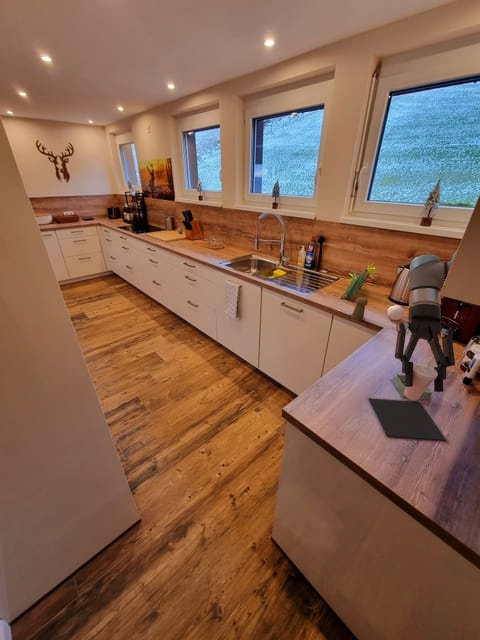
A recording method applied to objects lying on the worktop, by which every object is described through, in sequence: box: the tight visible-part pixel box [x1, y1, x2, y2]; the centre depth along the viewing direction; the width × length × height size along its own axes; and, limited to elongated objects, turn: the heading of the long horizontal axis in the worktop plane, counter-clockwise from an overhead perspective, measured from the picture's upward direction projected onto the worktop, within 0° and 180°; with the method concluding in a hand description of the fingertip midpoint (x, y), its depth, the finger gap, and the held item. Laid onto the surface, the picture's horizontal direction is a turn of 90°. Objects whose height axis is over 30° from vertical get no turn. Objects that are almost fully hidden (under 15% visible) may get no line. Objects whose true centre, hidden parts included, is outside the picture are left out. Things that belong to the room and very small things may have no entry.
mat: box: [368, 398, 447, 442], centre depth 79 cm, size 16×14×1 cm
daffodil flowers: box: [341, 261, 377, 302], centre depth 164 cm, size 17×15×35 cm
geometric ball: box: [386, 304, 406, 321], centre depth 134 cm, size 8×8×8 cm
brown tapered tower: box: [350, 296, 368, 322], centre depth 133 cm, size 6×6×11 cm
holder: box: [391, 373, 433, 400], centre depth 90 cm, size 8×8×3 cm
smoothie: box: [404, 356, 438, 402], centre depth 72 cm, size 6×6×14 cm
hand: (423, 388), depth 69 cm, fingers closed on smoothie, 6 cm apart
